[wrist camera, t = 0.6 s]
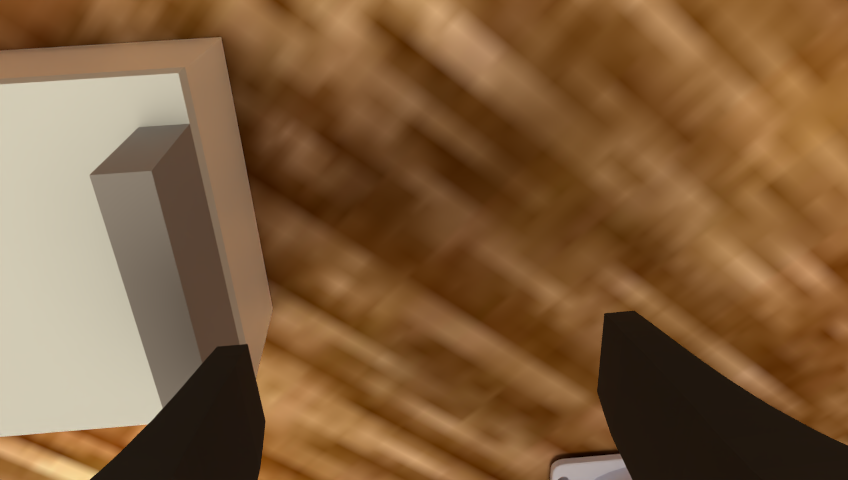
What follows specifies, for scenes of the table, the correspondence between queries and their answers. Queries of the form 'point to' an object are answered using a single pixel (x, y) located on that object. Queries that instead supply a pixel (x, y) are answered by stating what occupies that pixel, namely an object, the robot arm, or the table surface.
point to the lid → (105, 250)
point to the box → (217, 141)
